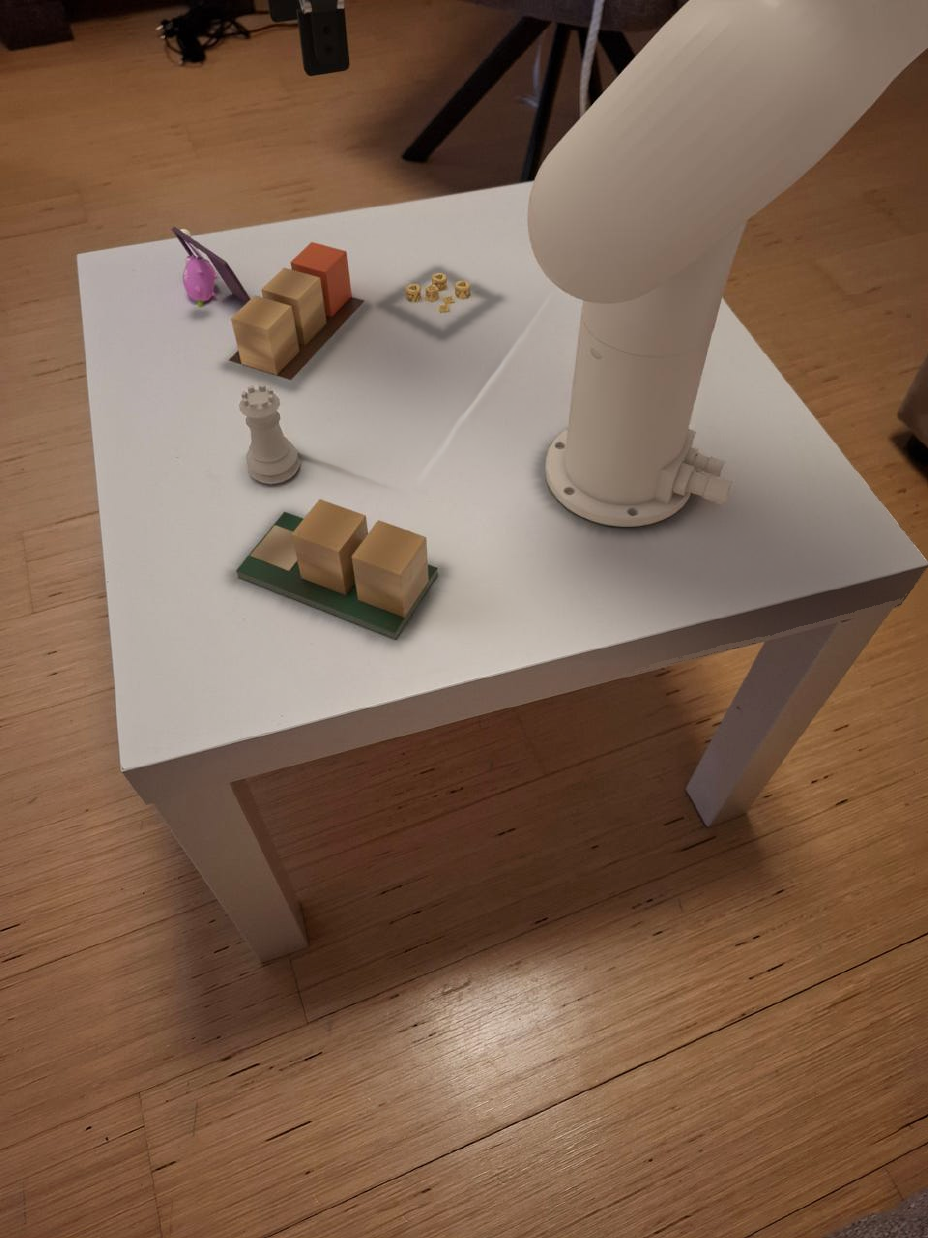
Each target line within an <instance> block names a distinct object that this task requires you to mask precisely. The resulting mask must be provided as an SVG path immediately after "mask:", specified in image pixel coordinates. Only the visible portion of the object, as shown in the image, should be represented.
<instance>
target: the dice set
mask: <svg viewBox="0 0 928 1238" xmlns="http://www.w3.org/2000/svg"><path fill="white" fill-rule="evenodd" d="M431 276H432V277H431V284H430V285H428V286H425V288H424V291H425V294H424V295H425V300H426V301H429V302H432V303H435V302H436V301H437V300H438V299H439V298H440V293H439V292H443V291H446V289H447V287H448V278H447V275H446V274H445V273H444V272H443V273H442V272H436V273H433V275H431ZM421 289H422V288H421V286H420V285H419V283H418V284H417V283H410V284H407V285H406V287H405V298H406V299H405V300H407V301H408V302H410V303H417V302H420V301H421V299H422V290H421ZM454 295H455V297H456V298H457V299H459V300H465V299H469V297H470V296H471V284H470V282H469V281H467V280H458V281H457V282H455V284H454ZM442 301H443V302H444V304H439V305H438V311H439V313H440V314H442V313H450V311H451V310H450V307H449V305H450V304H455V303H456V300H455V299H454V297H453V295H448V296H444V297H442Z"/></svg>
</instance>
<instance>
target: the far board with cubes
mask: <svg viewBox="0 0 928 1238" xmlns="http://www.w3.org/2000/svg"><path fill="white" fill-rule="evenodd" d="M260 290H261V295H262V296H259V295H256V294H255V295H254V296H253V297H251V298H250V299H251V300H250V301H249V302H247V303H245V304H244V305H243V306H241V308H240V309H239V310H238V311H237V312H236V313H235V314H234V315H233V316H232V317H230V322H231V326H232V329H233V334H234V339H235V343H236V346H237V347H236V348H237V351H236V352H235V353H234V354H233V355H232V356H230V358H229V359H228V361H229V362H231V363H235V364H238V365H242V366H244V367H248V368H250V369H254V370H256V371H260V372H262V373H263V372H264V373H266V374H269V375H272V376H275V377H279V378H281V379H284V380H288V381H292V380H293V379H294V378H295V377H296V376H297V375H298V374H299V373H300V371H301V370H303V368H304V367H305V366H306V365H307V364H308V363H309V362H310V361H311V359H313V358H314V356H315V355H316V354H317V353H318V352H319V351H320V350H321V349H322V347H324V346H325V344H327V342H329V340H330V339H332V337H333V336H334V335H335V334H336V333H337V332H338V331H339V330H340V328H342V326H344V324H345V323H346V322H347V321H348V319H350V318H351V316H352V315H353V314H354V313H356V311H357V310H358V309H359V308H360V307H361V306H362V305H363V304H364V302H365V300H364V299H361V298H359V297H358V298H357V297H355V296H354V297H353V296H352V297H351V298H350V299H349V300H348V301H347V302H346V303H345V304H344V305H343V306H342V307H341V308H340V309H339V310H338V311H337V313H336V314H335V315H334V316H333V317H329V316H326V315H325V308H324V301H323V295H322V288H321V281H320V278H319V277H316V276H312V275H309V274H305V273H302V272H298V271H295V270H292V269H291V268H287V267H283V268H282V269H281V270H280V271H279V272H278V273H276V275H274V276H273V277H272V279H270V280H269V282H267V283H266V284H265V285H264V286H263V287H262V288H261V289H260Z"/></svg>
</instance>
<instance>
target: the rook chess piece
mask: <svg viewBox="0 0 928 1238" xmlns="http://www.w3.org/2000/svg"><path fill="white" fill-rule="evenodd" d="M247 391H248V392H247ZM247 391H245V390H243V391H242V393H241V400H240V401H239V404H238V407H239V408H238V409H239V412H241V413H242V415H244V416H245V417H246V418H245V424H246V426H247V427H248V428H249V431H250V440H251V442H250V444H249V447H248V450H247V452H246V456H245V457H246V459H245V460H246V465H247V472H248V474H249V475H250V476H251V478H252V479H254V480H256V481H258V482H261V483H262V484H265V485H271V486H272V485H279V484H283V483H285V482H288V481H289V480H290V479H291V478H292V477H293V476H294V475H295V474H296V473H297V471H298V470H299V467H300V465H301V462H300V457H299V456H298V452H297V449H296V447H295V446H294V444H293V443H292V442H291V441H290V440H289V439H288V438H287V437H286V436H285V434H284V433H283V432H284V431H283V430H282V427H281V425H280V420H281V414H280V412H278V410H279V408H280V405H281V399H280V398H279V397H278V395H277V394H275V393H274V390H273V389H272V388H271V387H266V384H261V383H260V384H258V388H257V389H255V387H254V385H253V384H252V385H251V386H247Z"/></svg>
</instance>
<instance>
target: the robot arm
mask: <svg viewBox="0 0 928 1238" xmlns="http://www.w3.org/2000/svg"><path fill="white" fill-rule="evenodd" d="M266 2H267V7H268V14H269V18H270V20H271V21H272V22H273V23H278V24H279V23H283V22H290V21H297V26H298V27H297V28H298V35H299V36H298V37H299V43H300V51H301V59H302V68H303V70H304V72H305V74H306V75H307V76H309V77H315V76H321V75H328V74H334V73H341V72H345V71H348V70H349V69H350V54H349V53H350V52H349V43H348V41H349V40H348V29H347V17H346V8H345V0H267V1H266ZM926 50H928V0H688V1H687V2H686V3H685V4H684V5H683V6H682V7H681V8H679V10H677V12H675V14H674V15H672V17H671V18H670V19H669V20H668V21H667V22H666V23H665V24H663V26H662V27H661V28H660V29H659V30H658V32H656V33H655V34H654V36H653V37H652V38H651V39H650V40H649V41H648V42H647V43H646V45H644V47H643V48H642V49H641V50H640V51H639V52H638V53H637V54H636V55H635V56H634V58H633V59H632V60H631V61H630V62H629V63H628V64H627V65H626V67H625V68H624V69H623V70H622V71H621V73H619V74H618V76H617V77H616V78H614V80H613V81H612V82H611V83H610V85H609V86H607V88H606V89H605V90H603V92H602V94H601V95H599V97H598V98H597V99H596V100H595V101H594V102H593V104H592V105H590V107H588V108H587V110H586V111H585V112H584V114H583V115H581V117H580V118H579V119H578V120H577V121H576V122H575V124H574V125H572V127H571V128H569V130H568V131H567V132H566V133H565V135H564V136H563V137H562V138H561V139H560V140H559V141H558V142H557V143H556V145H555V146H554V147H553V148H552V150H550V152H549V153H548V154H547V156H546V157H545V158H544V160H543V161H542V164H541V165H540V167H539V169H538V170H537V173H536V175H535V177H534V180H533V183H532V185H531V189H530V194H529V197H528V203H527V216H526V217H527V218H526V219H527V220H526V221H527V233H528V238H529V243H530V247H531V250H532V253H533V255H534V258H535V259H536V262H537V265H539V267H540V269H541V271H542V272H543V273H544V275H545V276H546V277H547V278H548V280H549V281H550V282H551V283H552V284H553V285H554V286H556V287H557V288H558V289H560V290H561V291H563V292H564V293H565V294H567V295H569V296H571V297H574V298H575V299H579V300H582V305H581V310H580V319H579V326H578V327H579V328H578V337H577V346H576V355H575V364H574V370H573V371H574V373H573V381H572V390H571V400H570V408H569V416H568V426H567V428H565V429H564V430H563V431H562V432H560V433H559V434H558V435H557V436H555V438H554V439H553V440H552V442H551V444H550V445H549V447H548V450H547V453H546V457H545V468H544V473H545V479H546V483H547V485H548V487H549V489H550V492H551V493H552V494H553V495H554V497H555V498H556V499H557V500H558V501H559V502H560V503H561V504H562V505H563V506H564V507H565V508H566V509H568V510H569V511H571V512H573V513H574V514H576V515H577V516H579V517H581V518H584V519H586V520H589V521H591V522H594V523H598V524H600V525H601V524H602V525H605V526H610V527H611V526H612V527H621V528H625V527H627V528H631V527H642V526H648V525H652V524H655V523H658V522H662V521H664V520H665V519H667V518H670V517H671V516H673V515H675V514H676V513H677V512H678V511H680V510H681V509H682V508H683V507H684V506H685V504H686V503H687V502H688V500H689V499H690V497H691V494H693V495H696V496H699V497H702V499H705V500H706V501H707V500H708V501H711V502H714V503H717V504H720V505H725V503H726V502H727V499H728V496H729V494H730V491H731V488H732V485H733V481H732V480H728V479H726V478H722V477H720V476H721V474H722V472H723V469H724V466H725V463H726V460H723V459H720V458H718V457H717V458H716V457H713V456H708V455H705V454H700V453H699V449H696V448H693V445H694V442H695V436H696V433H697V432H696V430H694V429H690V428H689V427H690V424H691V420H692V417H693V412H694V407H695V404H696V400H697V397H698V392H699V388H700V385H701V381H702V377H703V372H704V368H705V364H706V359H707V356H708V352H709V348H710V344H711V340H712V337H713V333H714V330H715V327H716V324H717V319H718V315H719V311H720V307H721V304H722V300H723V296H724V293H725V289H726V286H727V282H728V278H729V276H730V272H731V270H732V269H731V268H732V266H733V262H734V260H735V257H736V254H737V251H738V248H739V245H740V243H741V239H742V237H743V234H744V232H745V229H746V228H747V227H746V226H747V224H748V221H749V219H751V218H752V217H753V216H754V215H756V214H757V213H759V212H760V211H761V210H762V209H764V208H766V206H768V205H769V204H771V202H773V201H774V200H776V199H777V198H778V197H779V196H780V195H782V194H783V193H784V192H785V191H787V190H788V189H789V188H790V187H791V186H793V185H794V184H795V183H796V182H797V181H799V179H801V178H802V177H803V176H805V174H806V173H808V172H809V171H811V169H812V168H813V167H815V166H816V164H817V163H819V161H820V160H822V159H823V158H824V157H825V156H826V155H827V154H828V153H829V151H831V150H832V149H833V148H834V147H835V145H837V144H838V142H840V140H841V139H842V138H843V137H844V136H845V135H846V134H847V133H848V132H849V130H851V128H852V127H854V126H855V124H856V123H857V122H858V121H859V120H860V119H861V118H862V117H863V115H865V114H866V112H868V110H869V109H870V108H871V107H872V106H873V104H875V102H876V101H877V100H878V99H879V98H880V96H882V94H883V93H884V92H885V91H886V90H887V88H888V87H889V86H890V84H891V83H892V82H893V81H894V80H895V79H896V78H897V77H898V76H899V74H901V73H902V72H903V71H904V70H905V68H907V67H908V66H909V65H910V64H911V63H913V61H914V60H916V59H917V58H918V57H919V56H920V55H921V54H922V53H924V52H925V51H926ZM696 470H697V471H696ZM698 471H701V472H704V473H705V474H704V473H701V472H698Z"/></svg>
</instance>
